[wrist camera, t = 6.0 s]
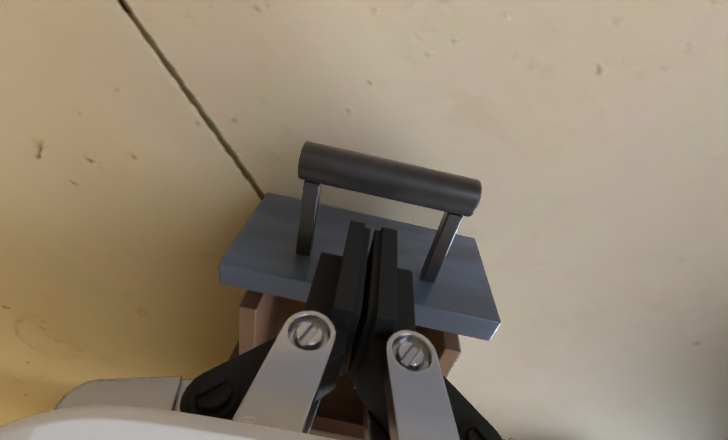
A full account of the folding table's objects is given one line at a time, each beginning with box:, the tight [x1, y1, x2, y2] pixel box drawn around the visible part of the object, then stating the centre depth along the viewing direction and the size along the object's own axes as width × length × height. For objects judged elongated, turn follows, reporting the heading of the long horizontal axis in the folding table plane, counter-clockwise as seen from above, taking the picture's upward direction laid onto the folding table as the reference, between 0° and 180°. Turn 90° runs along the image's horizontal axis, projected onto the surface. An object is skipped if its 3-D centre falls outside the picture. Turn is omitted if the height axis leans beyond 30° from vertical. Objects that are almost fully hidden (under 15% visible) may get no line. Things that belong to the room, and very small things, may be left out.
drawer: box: [219, 141, 501, 425], centre depth 18 cm, size 18×11×6 cm, turn 169°
